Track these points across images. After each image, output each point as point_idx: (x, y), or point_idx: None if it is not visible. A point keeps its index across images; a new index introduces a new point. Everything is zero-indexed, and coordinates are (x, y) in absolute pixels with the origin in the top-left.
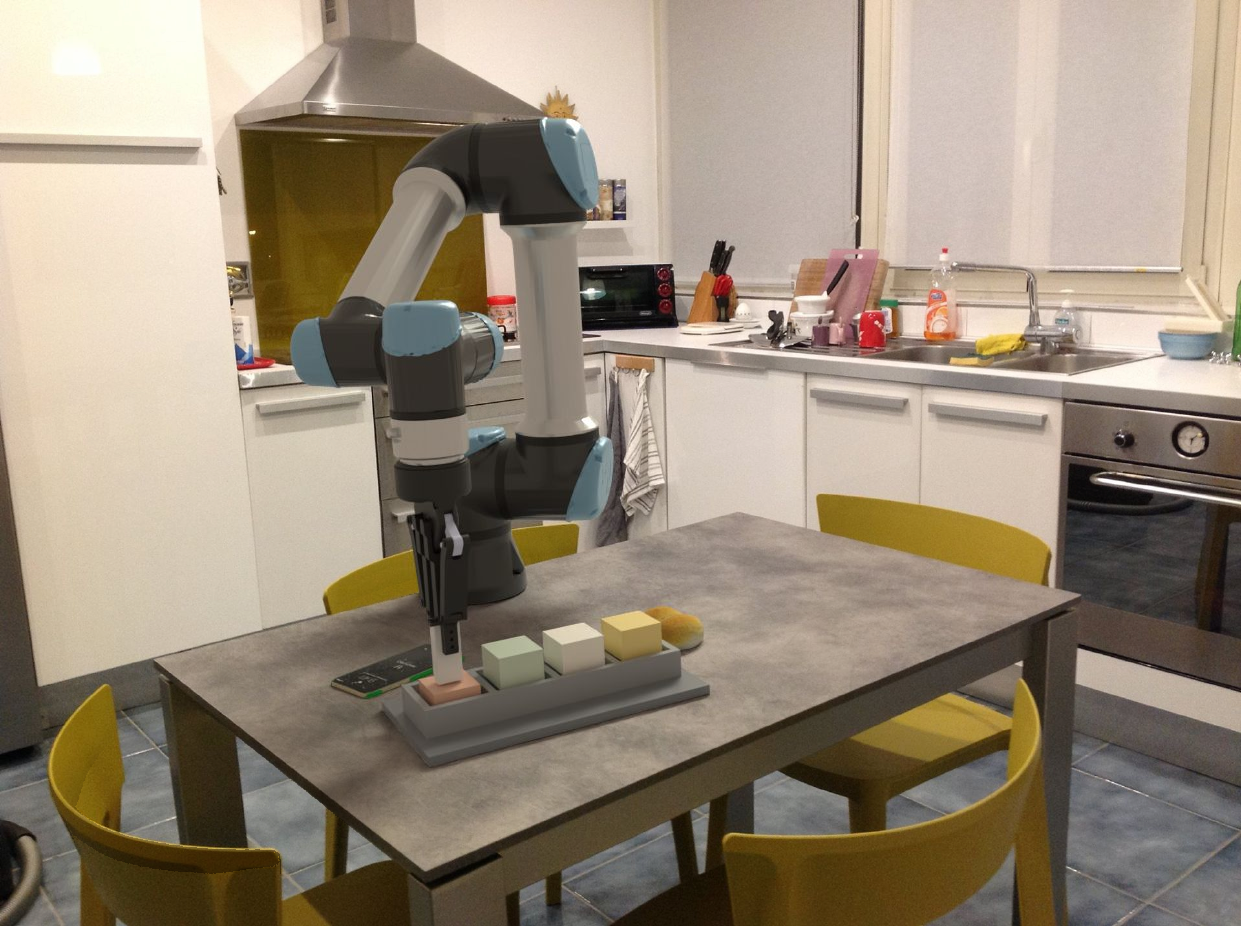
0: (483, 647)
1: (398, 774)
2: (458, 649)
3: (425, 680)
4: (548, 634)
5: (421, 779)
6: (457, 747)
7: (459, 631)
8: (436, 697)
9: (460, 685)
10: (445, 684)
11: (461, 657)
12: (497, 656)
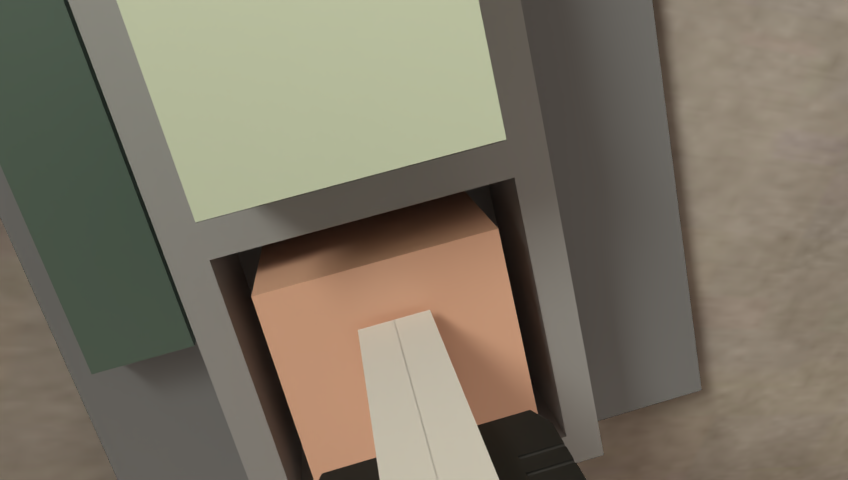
0: (236, 210)
1: (687, 457)
2: (550, 422)
3: None
4: None
5: (748, 395)
6: (671, 297)
7: (493, 466)
8: None
9: (473, 322)
10: None
11: (450, 366)
12: (458, 141)
